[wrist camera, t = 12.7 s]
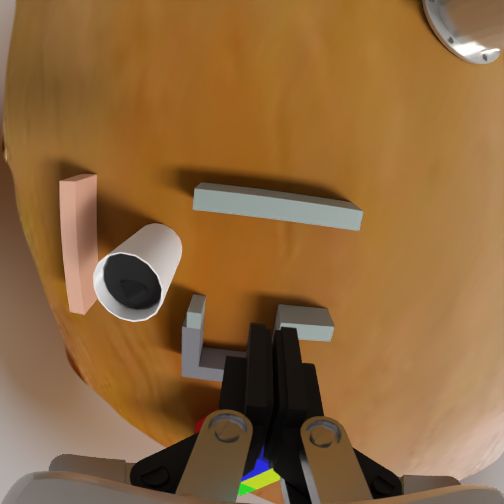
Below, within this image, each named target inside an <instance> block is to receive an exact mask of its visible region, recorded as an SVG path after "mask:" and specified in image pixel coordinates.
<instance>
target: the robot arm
mask: <svg viewBox="0 0 504 504" xmlns="http://www.w3.org/2000/svg"><path fill="white" fill-rule="evenodd" d="M422 3H423V9H424V12H425V15H426V18H427V20H428V22H429V24H430V27H431V28H432V30H433V31H434V33H435V35H436V36H437V37H438V39H439V40H440V41H441V42H442V44H443V45H444V46H445V47H446V48H447V49H448V50H449V51H451V52H452V53H453V54H454V55H456V56H457V57H459V58H460V59H462V60H464V61H466V62H469V63H471V64H477V65H480V64H487V63H491V62H493V61H494V60H496V58H497V57H498V56H499V55H500V52H501V50H504V0H422ZM262 447H263V459H264V460H269V468H273V471H274V472H275V473H277V474H278V475H279V476H280V484H281V488H282V493H283V498H284V502H285V504H504V494H503V493H502V492H501V491H499V490H497V489H495V488H492V487H489V486H483V485H470V484H468V485H461V484H460V482H459V481H458V480H457V479H455V478H454V477H450V476H417V475H403V476H402V477H397V476H396V475H395V474H394V473H393V472H391V471H389V470H388V469H386V468H384V467H383V466H381V465H379V464H378V463H376V462H375V461H373V460H371V459H370V458H368V457H367V456H365V455H364V454H362V453H360V452H359V451H357V450H356V449H354V448H353V447H352V445H351V443H350V440H349V438H348V436H347V433H346V431H345V429H344V427H343V426H342V425H341V424H340V423H339V422H338V421H336V420H334V419H332V418H329V417H325V416H324V413H323V407H322V402H321V396H320V391H319V385H318V380H317V375H316V369H315V366H314V364H310V363H302V360H301V353H300V347H299V340H298V334H297V328H293V327H283V326H282V327H281V329H280V330H275V332H274V337H273V342H272V338H271V329H266V325H264V324H255V323H251V325H250V331H249V337H248V344H247V351H246V357H245V358H244V357H236V356H228V355H226V359H225V366H224V373H223V380H222V388H221V395H220V402H219V409H218V411H215V412H213V413H211V414H210V415H208V416H207V417H206V419H205V421H204V422H203V425H202V427H201V430H200V431H199V432H198V433H196V434H194V435H192V436H190V437H188V438H186V439H184V440H182V441H180V442H178V443H176V444H174V445H172V446H170V447H168V448H166V449H164V450H162V451H159V452H157V453H155V454H153V455H151V456H149V457H146V458H144V459H142V460H140V461H139V462H137V463H126V462H125V460H117V459H106V458H96V457H87V456H78V455H72V454H62V455H60V456H57V457H56V458H54V459H53V460H52V462H51V464H50V466H49V471H41V472H34V473H30V474H27V475H25V476H23V477H21V478H20V479H19V480H18V481H17V482H16V483H15V484H14V485H13V486H12V487H11V489H10V490H9V491H8V493H7V495H6V496H5V498H4V499H3V501H2V503H1V504H248V503H235V502H236V498H237V494H238V491H239V487H240V483H241V479H242V477H244V476H245V475H247V474H248V473H250V472H251V471H253V470H254V468H255V464H256V461H257V459H259V457H260V454H261V451H262Z"/></svg>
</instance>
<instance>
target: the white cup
mask: <svg viewBox="0 0 504 504" xmlns="http://www.w3.org/2000/svg"><path fill="white" fill-rule="evenodd" d="M181 255H182V245H181V241H180V238H179V237H178V236H177V234H176V233H175V232H174V230H172V229H171V228H169V227H167V226H166V225H163V224H157V223H153V224H149V225H145V226H144V227H143V228H141V229H140V230H139V231H138V232H136V233H135V234H134V235H132V236H131V237H130V238H128V239H127V240H126V241H125V242H123V243H122V244H121V245H119V246H118V247H117V248H116V249H114V250H113V251H112V252H110V253H109V254H108V255H107V256H106V257H104V258H103V259H102V260H101V261H100V262H98V264H97V266H96V269H95V271H94V274H93V286H94V290H95V292H96V295H97V297H98V300H99V301H100V302H101V303H102V305H103V306H104V307H105V308H106V309H107V310H108V311H109V312H110V313H112V314H113V315H115V316H117V317H118V318H120V319H124V320H128V321H132V322H136V321H143V320H147V319H149V318H150V317H152V316H153V315H155V314H156V313H157V312H158V310H159V308H160V307H161V305H162V303H163V301H164V298H165V296H166V293H167V291H168V288H169V286H170V283H171V281H172V278H173V276H174V273H175V271H176V268H177V266H178V264H179V261H180V259H181Z"/></svg>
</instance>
